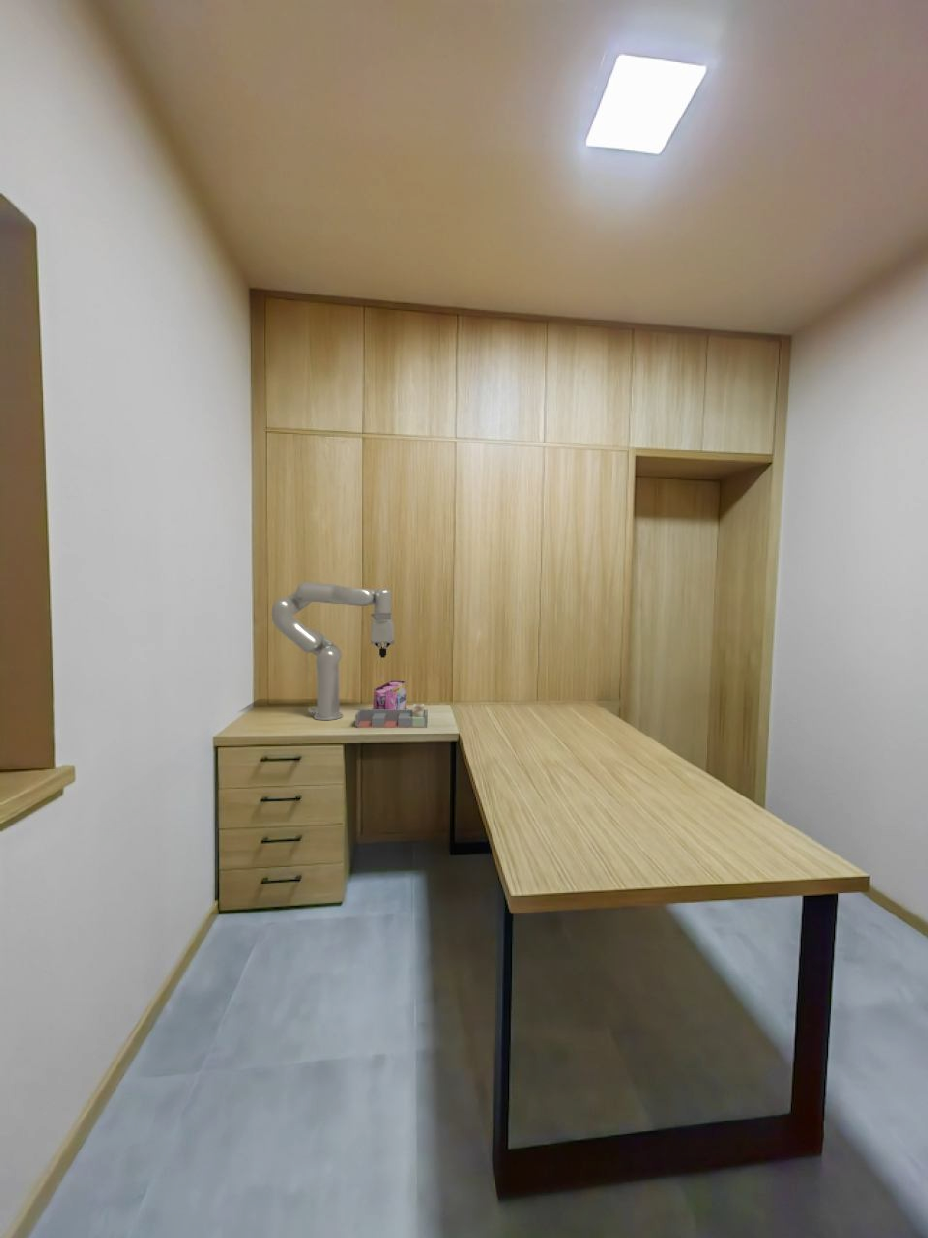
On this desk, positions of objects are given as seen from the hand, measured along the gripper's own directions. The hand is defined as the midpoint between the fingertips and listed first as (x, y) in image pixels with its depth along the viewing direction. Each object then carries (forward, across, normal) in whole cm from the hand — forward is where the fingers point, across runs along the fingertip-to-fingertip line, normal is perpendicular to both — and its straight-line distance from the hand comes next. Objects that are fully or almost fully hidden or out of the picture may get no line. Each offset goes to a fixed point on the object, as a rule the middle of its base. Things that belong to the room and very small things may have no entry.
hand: (382, 657), depth 222 cm
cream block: (+23, +17, -14) cm, 32 cm away
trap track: (+27, +6, -14) cm, 31 cm away
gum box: (+27, +3, +5) cm, 28 cm away
